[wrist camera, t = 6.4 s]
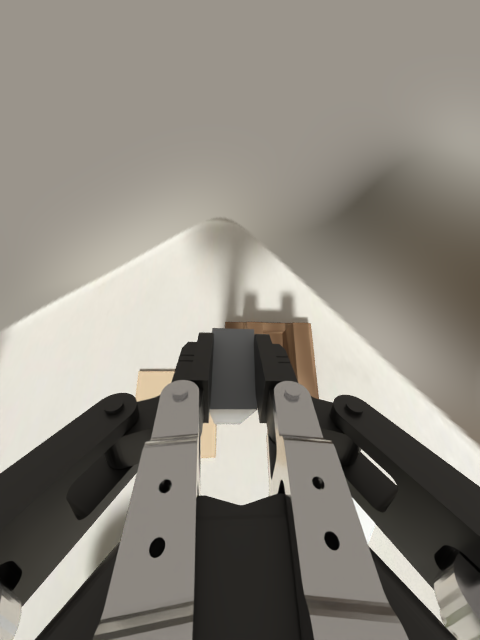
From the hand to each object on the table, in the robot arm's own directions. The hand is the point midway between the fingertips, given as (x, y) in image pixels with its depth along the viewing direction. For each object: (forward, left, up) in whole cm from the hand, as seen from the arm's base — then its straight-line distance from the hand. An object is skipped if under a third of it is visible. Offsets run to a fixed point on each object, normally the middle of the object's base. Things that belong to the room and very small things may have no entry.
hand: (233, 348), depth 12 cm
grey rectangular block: (0, -3, -10) cm, 10 cm away
